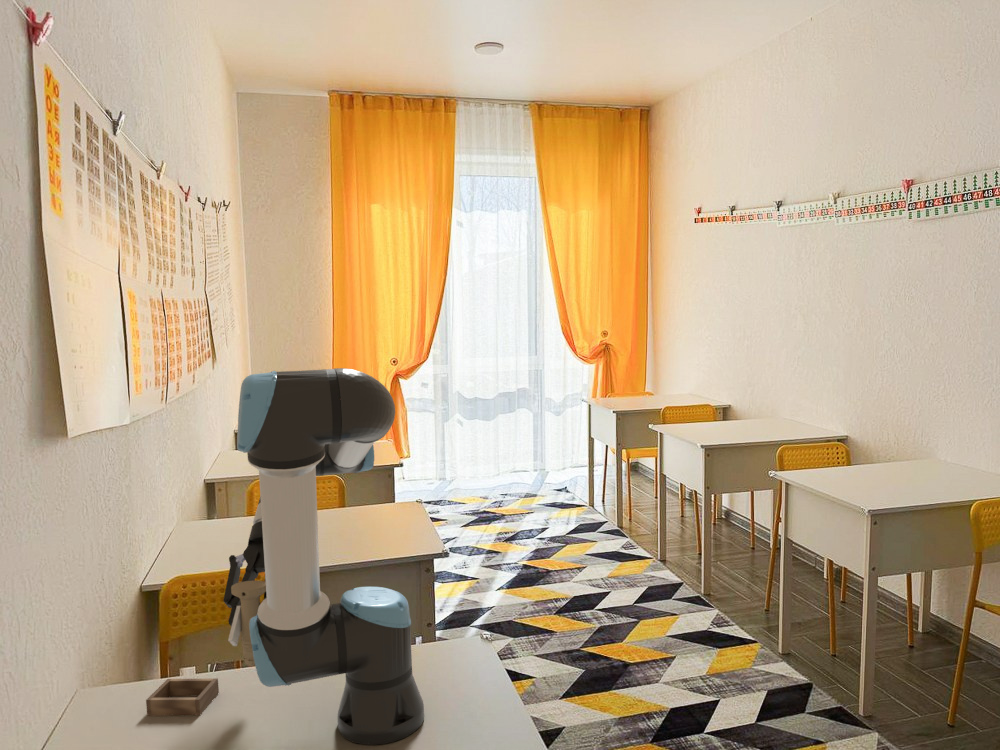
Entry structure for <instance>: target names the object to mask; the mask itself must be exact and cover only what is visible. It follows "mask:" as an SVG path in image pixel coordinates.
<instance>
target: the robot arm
mask: <svg viewBox="0 0 1000 750" xmlns="http://www.w3.org/2000/svg"><path fill="white" fill-rule="evenodd" d="M237 415H238V416H237V422H238V423H237V431H236V432H237V433H236V443H237V444H236V448H237V451H239V452H243V453H244V454H246V453H247V461H248V464H249V465H250V466H252V467H254V468H255V469H256V470H257V471H258V477H259V478H258V479H259V492H260V493H259V494H260V495H259V496H260V497H259V501H258V504H257V508H256V510H255V511H256V512H255V515H254V518H253V521H252V524H253V525H252V526H251V530H250V532H249V533H250V534H249V538H248V542H247V545H246V548H245V550H244V551H243V553H241V554H239V555H234V554H231V555H230V556H229V557H228V560H229V561H228V562H229V566H230V567H229V571H228V577H227V581H226V586H225V589H224V590H225V591H224V596H223V602H224V604H225V605H226V606H227V607H228V608H229V609H231V610H230V614H229V617H228V624H229V625H230V631H229V635H228V639H227V640H228V641H227V642H229V643H230V644H231V646H232V647H238V644H239V639H240V637H241V601H240V598H239V597H236V596H234V595H232V592H231V587H232V585H234V584H236V583H238V582H244V581H256V580H255V579H257V578H258V576H259V574H260V573H264V582H266V592H265V593H264V594H263V600H262V601H261V602H260V605H259V607H258V612H257V615H256V616H255V617H252V618H251V619H250V622H249V628H250V638H251V644H252V649H253V656H254V662H255V666H254V667H255V670H256V674H257V677H258V680H259V681H260V683H261V684H262V685H263V686H265V687H269V688H271V687H272V688H274V687H280V686H288V687H289V686H292V684H296V683H301V682H308V681H313V680H318V679H322V678H329V677H333V676H338V675H342V674H343V675H344V674H345V685H344V688H343V689H344V690H343V692H342V697H341V700H340V704H339V707H338V710H337V729H338V732H339V733H340V735H341V736H342V737H343V738H344V739H346V740H347V741H349V742H352V743H356V744H360V745H371V746H372V745H384V744H390V743H393V742H396V741H400V740H402V739H405V738H407V737H409V736H410V735H412V734H413V733H414V732H416V731H417V730H418V729H420V727H421V726H422V725H423V722H424V719H425V705H424V700H423V697H422V695H421V692H420V689H419V688H418V685H417V682H416V680H415V677H414V675H413V660H412V659H413V658H412V656H413V655H412V639H411V638H412V636H411V635H412V634H411V625H412V620H411V619H412V618H411V615H410V605H409V602H408V600H407V598H406V597H405V596H404V595H403V594H402V593H401V592H399V591H397V590H394V589H391V588H387V587H381V586H359V587H355V588H354V587H353V588H351V589H349V590H348V589H347V590H346V591H344V592H343V594H342V595H341V598H340V602H337V603H331V602H330V599H329V596H328V595H327V594H325V593H324V592H323V591H321V583H320V581H321V580H320V578H321V577H320V556H319V555H320V554H319V553H320V552H319V525H318V524H319V523H318V498H317V497H318V496H317V477H321V476H329V475H340V474H351V473H354V474H358V473H362V472H367V471H368V472H369V471H370V470H372V469H373V468H374V465H375V449H374V448H375V447H374V444H375V443H376V442H377V441H379V440H381V439H383V438H384V437H385V436H386V435H387V434H388V432H389V431H390V430H391V428H392V426H393V424H394V422H395V416H396V405H395V401H394V399H393V397H392V395H391V393H390V391H389V390H388V389H387V388H386V386H385V385H384V384H383V383H381V381H379V380H378V379H377V378H375V377H373V376H371V375H369V374H367V373H366V372H363V371H359V370H356V369H353V368H342V367H341V368H329V369H325V368H323V369H308V370H285V371H276V370H272V371H271V372H264V373H262V372H261V373H253V374H249V375H248V376H246V377H245V378H244V379H243V380H242V381H241V385H240V392H239V403H238V414H237ZM244 562H246V564H247V565H246V566H245V571H244V575H243V577H242V579H241V581H240V578H241V577H240V576H241V568H243V564H244ZM330 603H331V604H330Z"/></svg>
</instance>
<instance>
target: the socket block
mask: <svg viewBox="0 0 1000 750" xmlns="http://www.w3.org/2000/svg"><path fill="white" fill-rule="evenodd" d="M219 689H220V688H219V678H217V677H216V678H167V679H166V680H164V682H162V683H161V685H160V686H159V687H157V688H156V690H154V692H153V693H151V695H150V696H148V698H147V699H145V703H146V713H147V714H146V715H147V716H148V717H152V716H155V717H158V716H159V717H162V716H167V717H168V716H171V717H172V716H176V717H177V716H180V717H181V716H182V715H184V716H201V715H202V714H203V713H204V712H205V711H206V709H207V708H208V707H209V706H210V705H211V703H212V702H213V701H214V700H215V699H216V698H217V696H218V695H219V694H220V691H219ZM218 693H219V694H218ZM191 695H199V696H194V697H191ZM181 696H183V697H181ZM214 698H215V699H214ZM213 699H214V700H213ZM212 700H213V701H212ZM209 704H210V705H209ZM208 705H209V706H208ZM207 706H208V707H207ZM204 710H205V711H204ZM203 711H204V712H203ZM202 712H203V713H202ZM200 714H201V715H200Z"/></svg>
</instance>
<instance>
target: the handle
mask: <svg viewBox="0 0 1000 750" xmlns="http://www.w3.org/2000/svg"><path fill="white" fill-rule="evenodd" d="M231 592H232V595H234V596H236V597H239V598H240V601H241V632H240V639H241V647H242V653H243V657H244V665H246V666H248V667H251V668H252V667H256V666H255V662H254V656H253V649H252V644H251V638H250V628H249V622H250V619H251V618H252V617H255V616H256V615H257V612H258V607H259V605H260V604H261V600H260V599H261V596H262V595H264V593H265V592H266V582H265V580H254V581H244V582H241V581H239V582H238V583H236V584H234V585H232V587H231Z"/></svg>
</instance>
